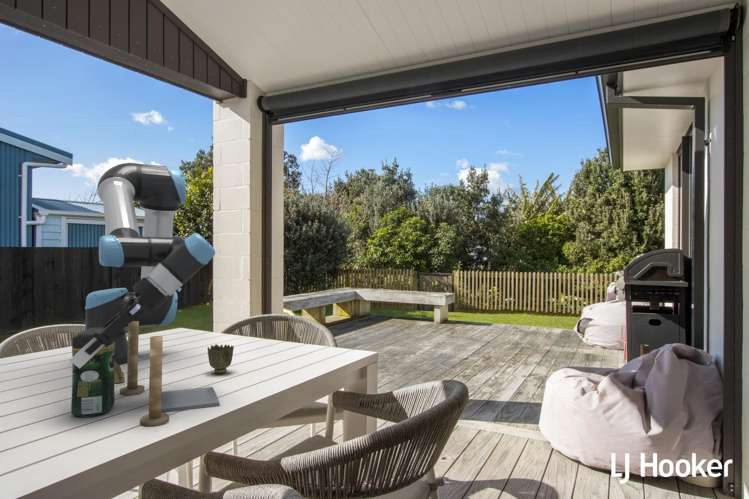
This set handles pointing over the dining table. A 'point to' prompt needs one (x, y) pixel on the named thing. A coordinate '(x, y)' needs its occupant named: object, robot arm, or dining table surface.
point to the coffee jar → (93, 377)
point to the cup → (220, 357)
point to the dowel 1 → (132, 362)
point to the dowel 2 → (155, 386)
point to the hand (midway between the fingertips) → (77, 358)
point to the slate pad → (188, 399)
